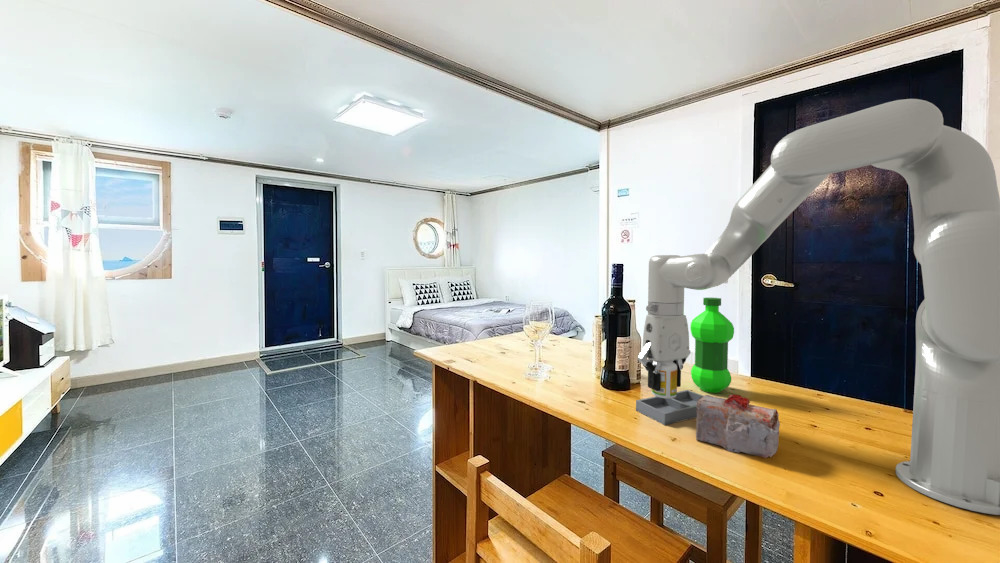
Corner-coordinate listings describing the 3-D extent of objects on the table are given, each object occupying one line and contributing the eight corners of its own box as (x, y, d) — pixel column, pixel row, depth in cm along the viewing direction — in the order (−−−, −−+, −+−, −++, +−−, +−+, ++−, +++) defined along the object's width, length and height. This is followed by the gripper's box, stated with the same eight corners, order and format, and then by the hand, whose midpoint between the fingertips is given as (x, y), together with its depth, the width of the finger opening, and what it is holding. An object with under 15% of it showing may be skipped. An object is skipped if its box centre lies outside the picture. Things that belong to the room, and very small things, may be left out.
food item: (780, 448, 73) (782, 398, 73) (777, 466, 67) (779, 411, 66) (701, 429, 82) (702, 383, 81) (691, 443, 76) (692, 394, 75)
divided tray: (718, 411, 90) (718, 401, 90) (664, 425, 84) (664, 413, 84) (687, 399, 98) (687, 389, 98) (636, 410, 92) (636, 400, 92)
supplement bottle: (671, 390, 92) (672, 350, 91) (680, 399, 86) (681, 356, 86) (648, 390, 92) (649, 350, 91) (655, 398, 87) (656, 356, 86)
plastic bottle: (691, 393, 102) (692, 300, 101) (688, 381, 112) (690, 295, 110) (734, 398, 98) (737, 301, 97) (728, 385, 108) (730, 296, 106)
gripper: (649, 314, 81) (647, 398, 82) (706, 308, 88) (704, 386, 89) (624, 309, 88) (623, 387, 89) (679, 305, 95) (678, 377, 96)
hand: (664, 386), depth 89 cm, fingers closed on supplement bottle, 5 cm apart
